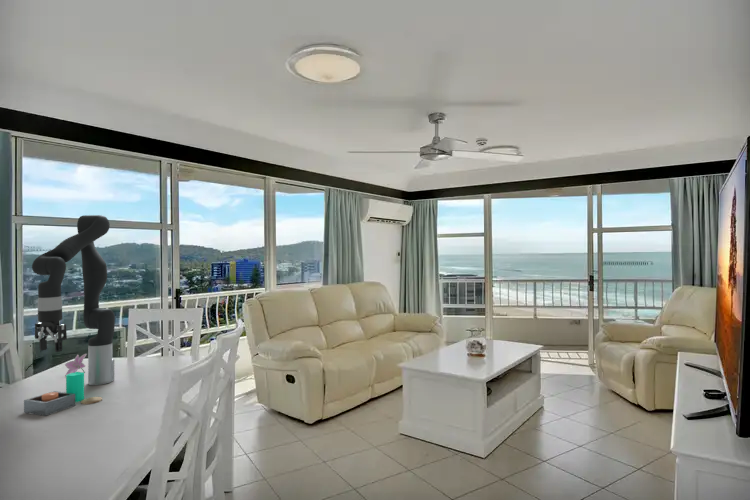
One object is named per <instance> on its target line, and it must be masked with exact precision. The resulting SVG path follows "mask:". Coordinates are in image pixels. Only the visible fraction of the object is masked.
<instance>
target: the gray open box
mask: <svg viewBox="0 0 750 500" xmlns="http://www.w3.org/2000/svg"><path fill="white" fill-rule="evenodd" d="M52 392H58V398H57V399H54V400H51V401H48V402H42V395H43V394H40V395H36V396H34V397H31V398H26V399H24V400H23V413H24V414H30V415H38V416H43V417H44V416H49V415H51V414H55V413H57V412H60V411H63V410H66V409H69V408H72V407H75V406H76V402H75V394H73V393H66V391H65V392H64V391H57V390H53V391H52Z"/></svg>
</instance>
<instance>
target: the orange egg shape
mask: <svg viewBox="0 0 750 500" xmlns="http://www.w3.org/2000/svg"><path fill="white" fill-rule="evenodd" d="M58 392H59V391H58ZM58 392H53V391H50V392H46V393H43V394H41V395H42V402H48V401H51V400H54V399H57V398H58Z"/></svg>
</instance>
